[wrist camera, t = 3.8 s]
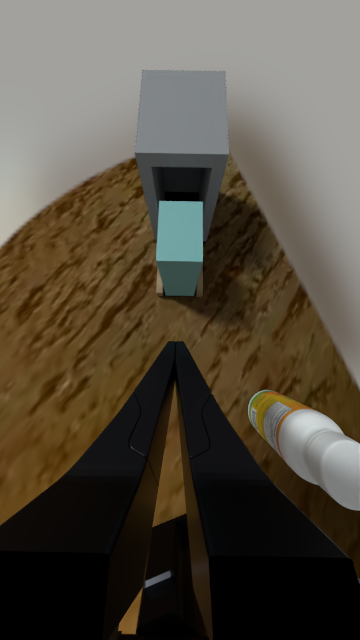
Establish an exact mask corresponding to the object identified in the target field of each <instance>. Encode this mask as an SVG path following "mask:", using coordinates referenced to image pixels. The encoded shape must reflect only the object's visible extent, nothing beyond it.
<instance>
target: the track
mask: <svg viewBox="0 0 360 640" xmlns="http://www.w3.org/2000/svg"><path fill="white" fill-rule="evenodd" d="M163 288H164V287H163V284H162V280H161V276H160V273H159V269H158V271H157V291H156V293H157V295H158V296H163ZM202 295H203V263H202V267H201V271H200V274H199V278H198V282H197V285H196V297H202Z"/></svg>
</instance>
